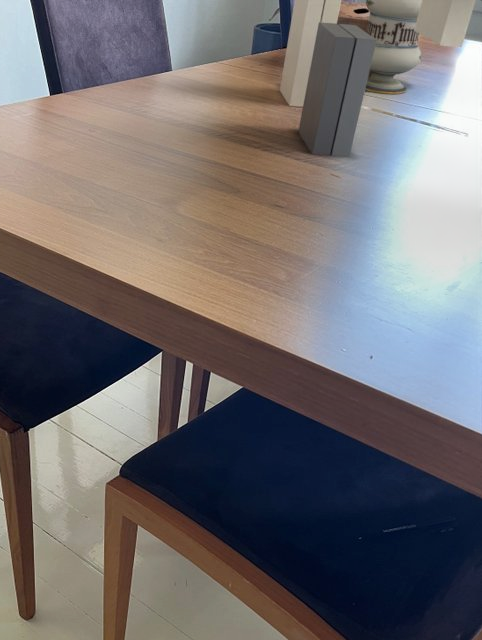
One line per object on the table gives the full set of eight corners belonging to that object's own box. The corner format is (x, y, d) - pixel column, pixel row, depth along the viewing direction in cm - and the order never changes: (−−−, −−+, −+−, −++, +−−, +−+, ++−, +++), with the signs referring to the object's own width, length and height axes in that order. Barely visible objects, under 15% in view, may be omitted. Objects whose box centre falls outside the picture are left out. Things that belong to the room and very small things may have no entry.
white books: (307, 92, 132) (328, -18, 122) (319, 108, 124) (343, -10, 113) (279, 90, 132) (298, -21, 122) (289, 106, 124) (310, -12, 113)
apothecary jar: (335, 80, 142) (358, -29, 131) (386, 79, 146) (412, -27, 135) (372, 96, 134) (400, -20, 122) (424, 95, 138) (456, -18, 126)
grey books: (331, 139, 109) (356, 25, 100) (348, 163, 100) (376, 39, 91) (297, 137, 109) (318, 22, 99) (310, 160, 100) (335, 36, 91)
